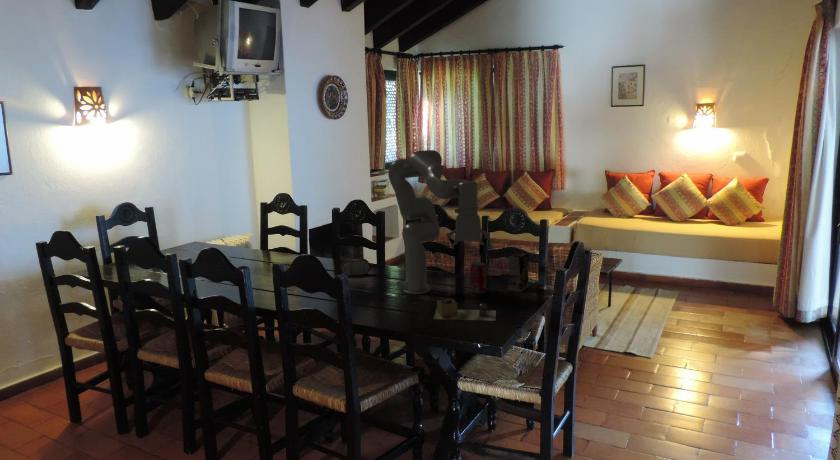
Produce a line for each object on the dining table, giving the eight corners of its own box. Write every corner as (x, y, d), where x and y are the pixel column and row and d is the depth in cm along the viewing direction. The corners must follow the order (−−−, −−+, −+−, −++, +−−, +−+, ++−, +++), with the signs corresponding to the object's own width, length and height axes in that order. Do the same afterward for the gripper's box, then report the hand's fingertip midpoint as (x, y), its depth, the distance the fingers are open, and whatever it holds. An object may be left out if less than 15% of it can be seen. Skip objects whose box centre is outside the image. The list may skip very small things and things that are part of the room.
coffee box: (521, 292, 268) (521, 257, 265) (507, 290, 272) (508, 255, 269) (528, 287, 276) (529, 253, 273) (515, 285, 279) (516, 251, 276)
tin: (369, 273, 305) (369, 257, 304) (371, 275, 302) (370, 258, 301) (340, 276, 301) (339, 259, 300) (341, 277, 298) (340, 261, 297)
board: (433, 321, 233) (432, 305, 231) (436, 311, 244) (436, 295, 243) (495, 323, 229) (495, 306, 228) (495, 313, 241) (496, 297, 240)
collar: (441, 317, 234) (441, 305, 233) (437, 312, 240) (437, 300, 239) (457, 316, 235) (457, 303, 234) (452, 310, 241) (452, 299, 240)
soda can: (485, 294, 266) (485, 266, 264) (469, 293, 268) (469, 265, 265) (487, 290, 273) (487, 262, 271) (471, 289, 275) (471, 261, 272)
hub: (479, 316, 235) (479, 305, 234) (479, 313, 237) (479, 302, 236) (486, 316, 234) (486, 305, 233) (486, 314, 237) (486, 303, 236)
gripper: (446, 214, 235) (446, 256, 238) (490, 213, 234) (490, 256, 237) (446, 211, 242) (446, 252, 246) (489, 210, 241) (489, 252, 245)
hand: (468, 254), depth 241 cm, fingers open, 9 cm apart
